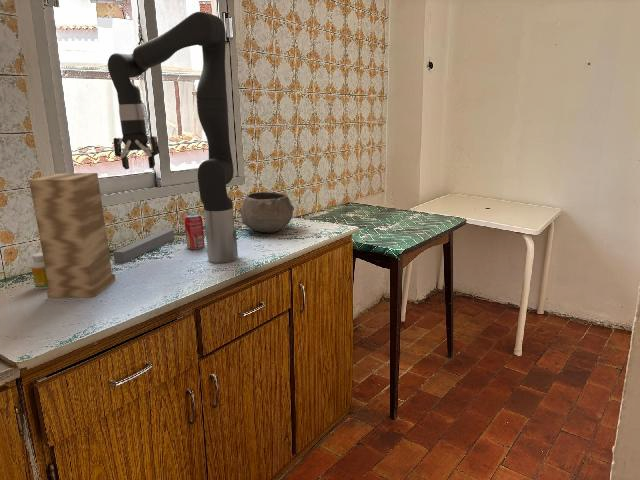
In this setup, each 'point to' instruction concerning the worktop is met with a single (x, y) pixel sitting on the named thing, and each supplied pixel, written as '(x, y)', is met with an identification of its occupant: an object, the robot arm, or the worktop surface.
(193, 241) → the soda can
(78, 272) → the stand
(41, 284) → the supplement bottle
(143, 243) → the block
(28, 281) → the worktop surface
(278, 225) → the clay pot
